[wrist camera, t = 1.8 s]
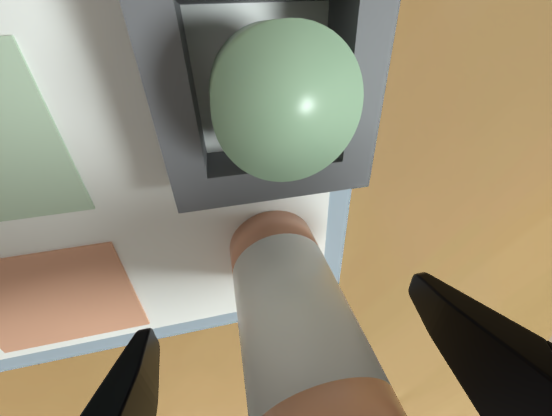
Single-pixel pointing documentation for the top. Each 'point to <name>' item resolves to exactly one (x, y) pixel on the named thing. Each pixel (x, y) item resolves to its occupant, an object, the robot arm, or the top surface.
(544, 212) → the top surface
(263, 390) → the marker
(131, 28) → the board with colored squares
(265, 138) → the button
